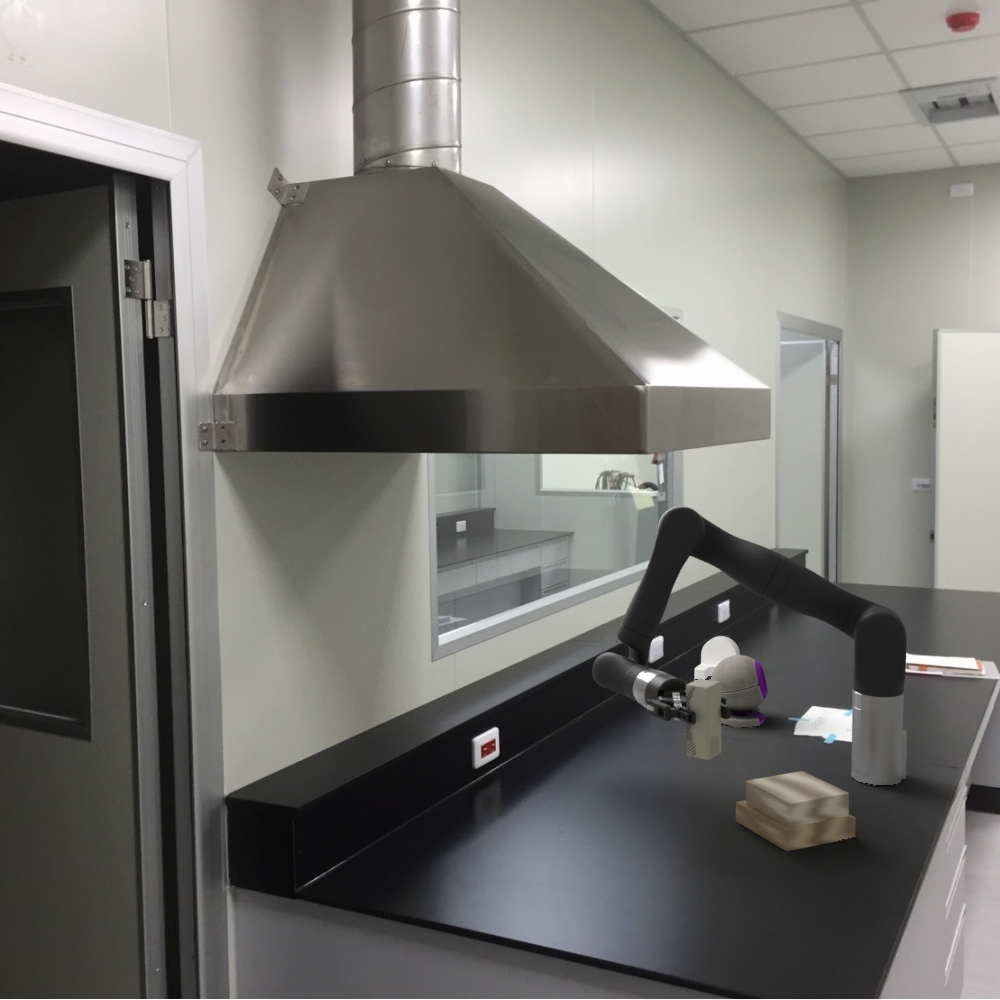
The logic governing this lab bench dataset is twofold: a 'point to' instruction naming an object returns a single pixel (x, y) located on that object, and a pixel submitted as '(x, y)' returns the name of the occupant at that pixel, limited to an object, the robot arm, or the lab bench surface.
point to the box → (704, 719)
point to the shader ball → (742, 689)
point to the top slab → (797, 799)
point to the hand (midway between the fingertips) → (711, 716)
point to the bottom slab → (794, 829)
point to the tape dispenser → (715, 655)
